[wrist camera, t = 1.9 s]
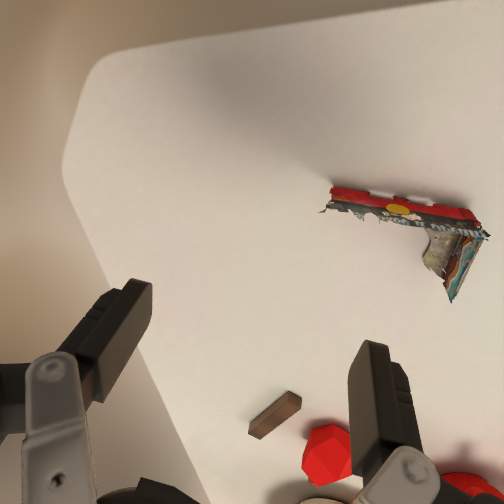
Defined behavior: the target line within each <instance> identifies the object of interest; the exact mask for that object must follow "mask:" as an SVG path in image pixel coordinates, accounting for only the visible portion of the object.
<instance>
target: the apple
mask: <svg viewBox="0 0 504 504" xmlns="http://www.w3.org/2000/svg"><path fill="white" fill-rule="evenodd" d="M301 468H302V470H303V471H304V472H305V473H306V474H307V476H308V483H309V484H310V485H311V484H313V483H314V484H315V486H316V487H319V486H322V485H325V484H329V483H332V482H336V481H338V480H341V479H343V478H346V477H348V476H351V475H352V470H351V447H350V435H349V433H347V432H346V431H344V430H343V429H341V428H340V427H338V426H336V425H335V424H331V425H327V426H323V427H319V428H315V429H312V431H311V434H310V437H309V439H308V442H307V445H306V447H305V450H304V453H303V457H302V467H301Z"/></svg>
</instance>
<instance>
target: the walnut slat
mask: <svg viewBox="0 0 504 504" xmlns="http://www.w3.org/2000/svg"><path fill="white" fill-rule="evenodd" d="M301 404H302V398H301V397H299V396H297V395H295V394H293V393H291V392H289V391H288V392H287V393H286V394H285V395H284V396H282V397H281V398H280V399H279V400H278V401H276V402H275V403H274V404H273V405H272V406H270V407H269V408H268V409H267V410H266V411H264V412H263V413H262V414H261V415H260V416H258V417H257V418H256V419H255V420H254V421H252V422H251V423H250V425H249V430H248V434H249V435H251V436H253V437H255V438H257V439H259V440H260V439H262V438H263V437H264V436H266V435H267V434H268V433H270V432H271V431H272V430H274V429H275V428H276V427H278V426H279V425H280V424H282V423H283V422H284V421H285V420H287V419H288V418H289V417H291V416H292V415H293V414H295V413H296V412H297V411H299V410H300V409H301Z"/></svg>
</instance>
